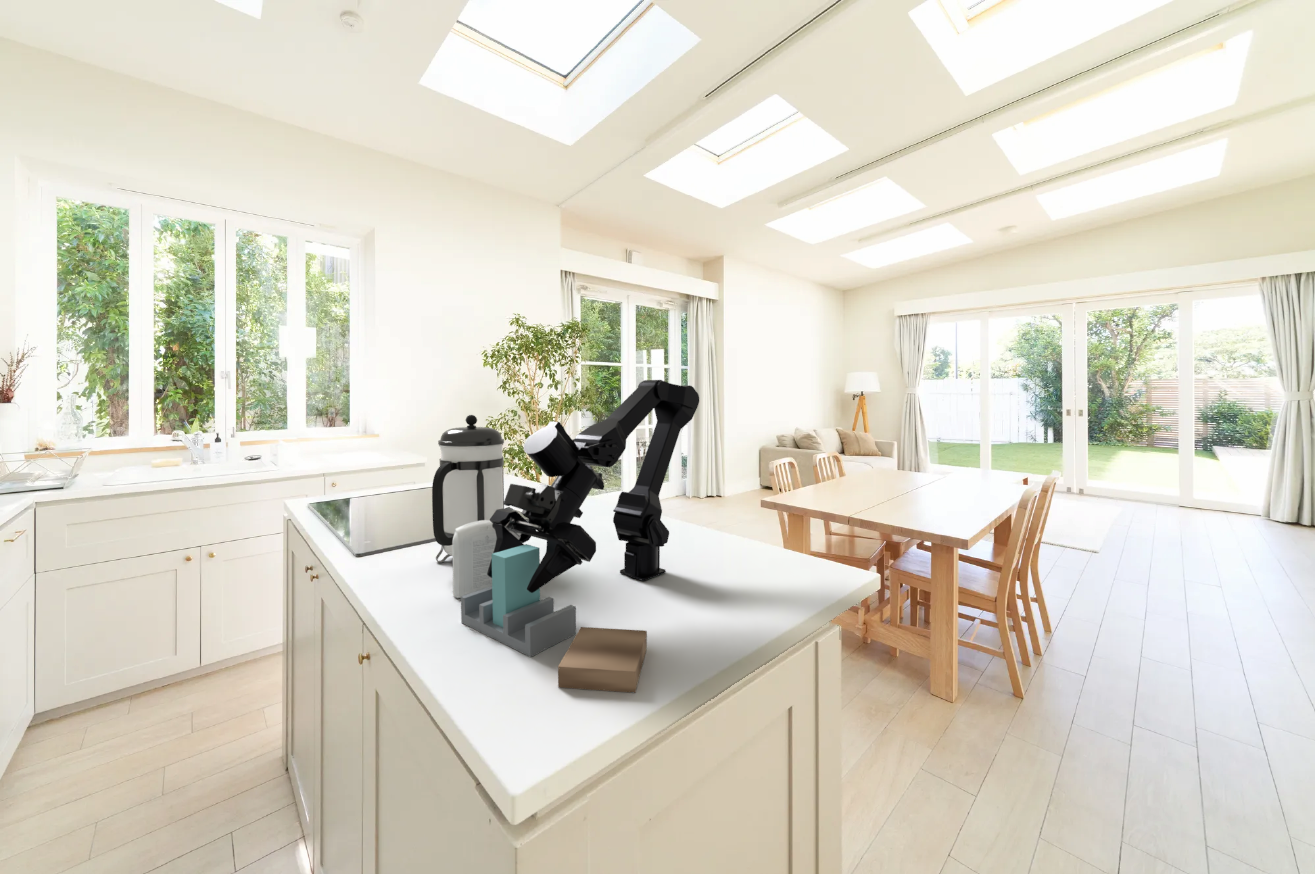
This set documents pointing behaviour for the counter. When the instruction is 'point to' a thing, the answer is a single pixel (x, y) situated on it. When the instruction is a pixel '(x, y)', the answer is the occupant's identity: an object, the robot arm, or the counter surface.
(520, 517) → the robot arm
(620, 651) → the brown block
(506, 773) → the counter surface
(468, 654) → the counter surface
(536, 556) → the thick teal slab
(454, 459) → the coffee press
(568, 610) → the rack
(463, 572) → the grey rounded slab
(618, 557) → the counter surface
